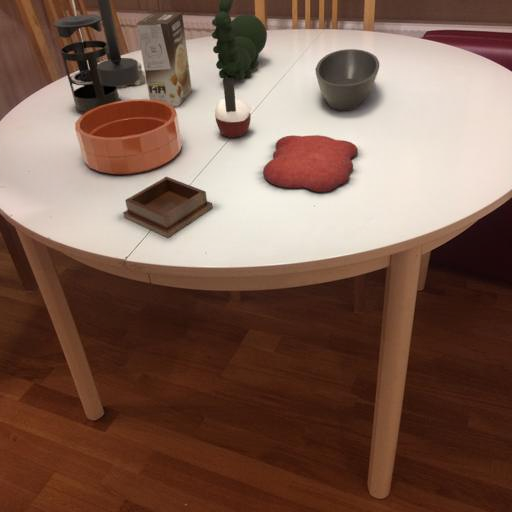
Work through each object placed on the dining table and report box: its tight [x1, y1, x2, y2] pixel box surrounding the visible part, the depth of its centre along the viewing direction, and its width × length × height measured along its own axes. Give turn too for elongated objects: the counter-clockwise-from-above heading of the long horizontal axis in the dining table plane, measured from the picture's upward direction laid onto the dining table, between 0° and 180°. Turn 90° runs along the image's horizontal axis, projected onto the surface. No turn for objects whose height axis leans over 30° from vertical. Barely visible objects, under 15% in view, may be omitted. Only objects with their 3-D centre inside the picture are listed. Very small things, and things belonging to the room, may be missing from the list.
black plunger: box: [97, 0, 140, 86], centre depth 74 cm, size 6×6×22 cm
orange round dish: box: [74, 98, 183, 175], centre depth 89 cm, size 17×17×6 cm
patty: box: [262, 134, 358, 193], centre depth 84 cm, size 18×14×2 cm
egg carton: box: [117, 59, 145, 89], centre depth 121 cm, size 11×8×4 cm
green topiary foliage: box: [211, 0, 268, 80], centre depth 117 cm, size 9×19×25 cm
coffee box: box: [136, 11, 193, 108], centre depth 106 cm, size 9×6×16 cm
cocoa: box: [214, 77, 252, 139], centre depth 91 cm, size 10×6×12 cm, turn 158°
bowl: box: [315, 48, 380, 112], centre depth 104 cm, size 12×22×6 cm, turn 167°
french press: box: [53, 0, 122, 115], centre depth 103 cm, size 12×9×23 cm
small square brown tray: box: [122, 176, 214, 238], centre depth 74 cm, size 9×9×3 cm
